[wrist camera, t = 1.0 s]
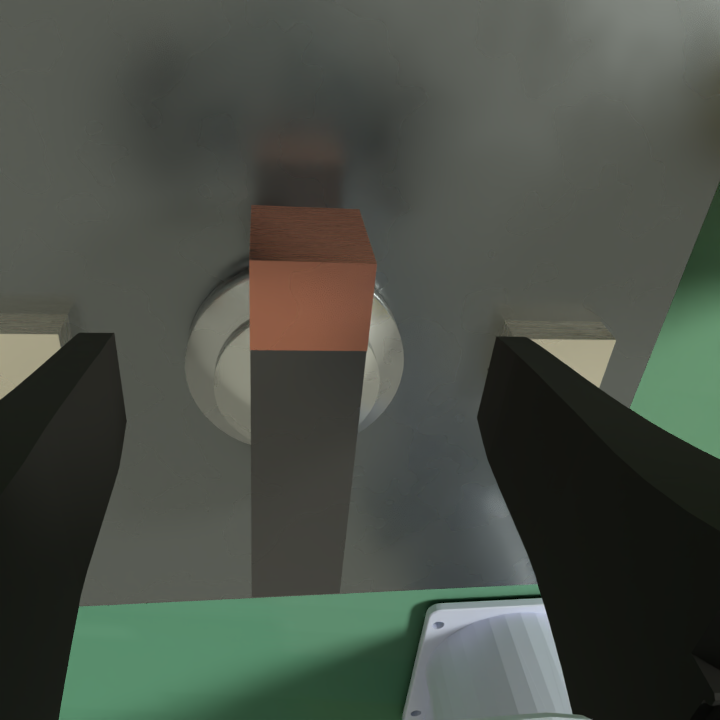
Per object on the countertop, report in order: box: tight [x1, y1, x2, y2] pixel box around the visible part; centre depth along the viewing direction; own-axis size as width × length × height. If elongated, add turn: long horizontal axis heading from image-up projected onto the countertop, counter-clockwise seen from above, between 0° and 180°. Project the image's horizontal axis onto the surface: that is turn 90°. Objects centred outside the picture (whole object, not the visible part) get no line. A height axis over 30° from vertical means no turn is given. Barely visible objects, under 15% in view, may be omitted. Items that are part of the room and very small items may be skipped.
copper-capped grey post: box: [214, 205, 380, 597], centre depth 17 cm, size 10×4×3 cm, turn 175°
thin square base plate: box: [0, 0, 720, 606], centre depth 19 cm, size 22×22×2 cm
